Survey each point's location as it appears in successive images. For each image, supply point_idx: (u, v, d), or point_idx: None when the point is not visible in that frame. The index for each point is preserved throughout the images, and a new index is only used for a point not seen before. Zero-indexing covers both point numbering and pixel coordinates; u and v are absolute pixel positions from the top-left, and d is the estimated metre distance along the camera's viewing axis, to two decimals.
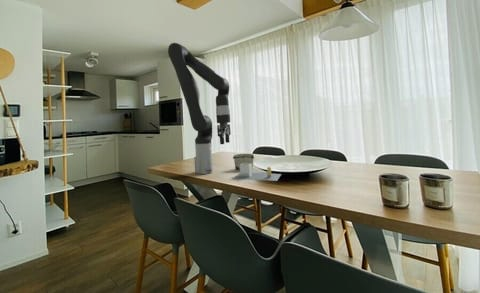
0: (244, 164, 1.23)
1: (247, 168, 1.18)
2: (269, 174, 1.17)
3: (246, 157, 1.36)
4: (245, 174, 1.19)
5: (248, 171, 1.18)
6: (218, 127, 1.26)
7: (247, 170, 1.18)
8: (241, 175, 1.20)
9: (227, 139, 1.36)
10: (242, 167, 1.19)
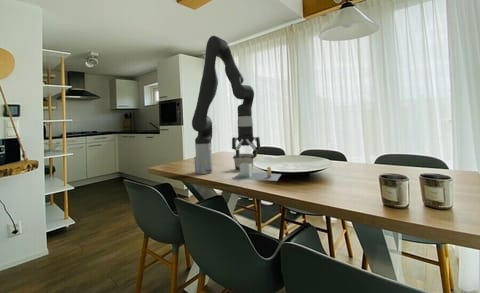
0: (244, 164, 1.23)
1: (247, 168, 1.18)
2: (269, 174, 1.17)
3: (246, 157, 1.36)
4: (245, 174, 1.19)
5: (248, 171, 1.18)
6: (258, 139, 1.17)
7: (247, 170, 1.18)
8: (241, 175, 1.20)
9: (239, 153, 1.22)
10: (242, 167, 1.19)
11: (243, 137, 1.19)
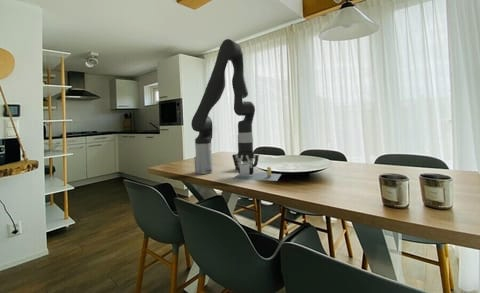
0: (244, 164, 1.23)
1: (247, 168, 1.18)
2: (269, 174, 1.17)
3: None
4: (245, 174, 1.19)
5: (248, 171, 1.18)
6: (258, 157, 1.18)
7: (247, 170, 1.18)
8: (241, 175, 1.20)
9: None
10: (242, 167, 1.19)
11: (243, 153, 1.20)
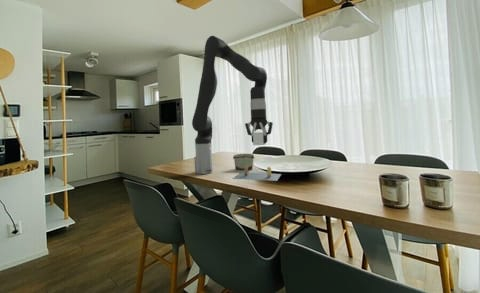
0: (257, 133, 1.19)
1: (261, 136, 1.14)
2: (269, 174, 1.17)
3: (246, 157, 1.36)
4: (259, 143, 1.15)
5: (262, 139, 1.14)
6: (272, 124, 1.14)
7: (261, 138, 1.14)
8: (255, 144, 1.16)
9: None
10: (255, 135, 1.15)
11: (256, 121, 1.16)
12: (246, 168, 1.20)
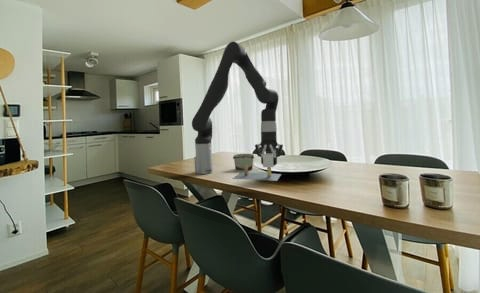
0: (267, 154, 1.19)
1: (271, 158, 1.14)
2: (269, 174, 1.17)
3: (246, 157, 1.36)
4: (268, 165, 1.15)
5: (272, 161, 1.14)
6: (282, 147, 1.14)
7: (271, 160, 1.14)
8: (264, 165, 1.15)
9: None
10: (265, 157, 1.15)
11: (266, 142, 1.15)
12: (246, 168, 1.20)
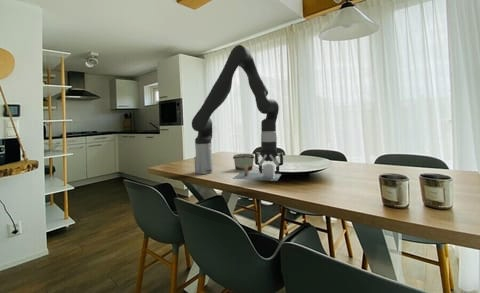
0: (267, 165, 1.19)
1: (271, 169, 1.15)
2: None
3: (246, 157, 1.36)
4: (268, 175, 1.15)
5: (272, 172, 1.15)
6: (282, 155, 1.14)
7: (271, 171, 1.15)
8: (264, 176, 1.16)
9: None
10: (265, 168, 1.15)
11: (266, 152, 1.16)
12: (246, 168, 1.20)
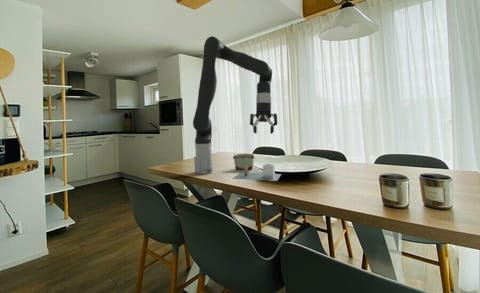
0: (267, 165, 1.19)
1: (271, 169, 1.15)
2: None
3: (246, 157, 1.36)
4: (268, 175, 1.15)
5: (272, 172, 1.15)
6: (276, 115, 1.21)
7: (271, 171, 1.15)
8: (264, 176, 1.16)
9: (256, 129, 1.26)
10: (265, 168, 1.15)
11: (261, 113, 1.23)
12: (246, 168, 1.20)
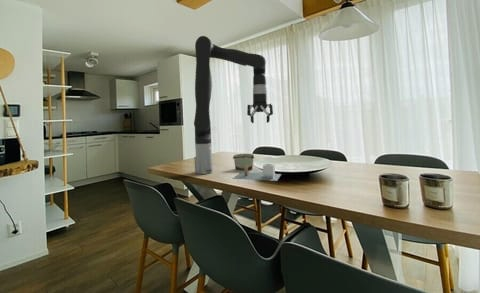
0: (267, 165, 1.19)
1: (271, 169, 1.15)
2: None
3: (246, 157, 1.36)
4: (268, 175, 1.15)
5: (272, 172, 1.15)
6: (271, 105, 1.30)
7: (271, 171, 1.15)
8: (264, 176, 1.16)
9: (253, 119, 1.35)
10: (265, 168, 1.15)
11: (257, 104, 1.32)
12: (246, 168, 1.20)
